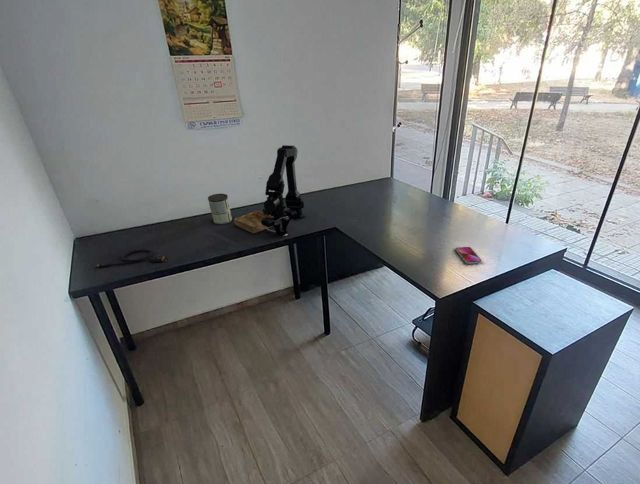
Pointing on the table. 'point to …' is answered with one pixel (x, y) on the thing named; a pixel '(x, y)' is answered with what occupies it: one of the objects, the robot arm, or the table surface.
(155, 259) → the cable
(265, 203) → the robot arm
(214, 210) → the coffee can
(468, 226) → the table surface
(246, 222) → the brown wooden tray
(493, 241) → the table surface
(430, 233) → the table surface
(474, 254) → the smartphone
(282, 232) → the tongs
